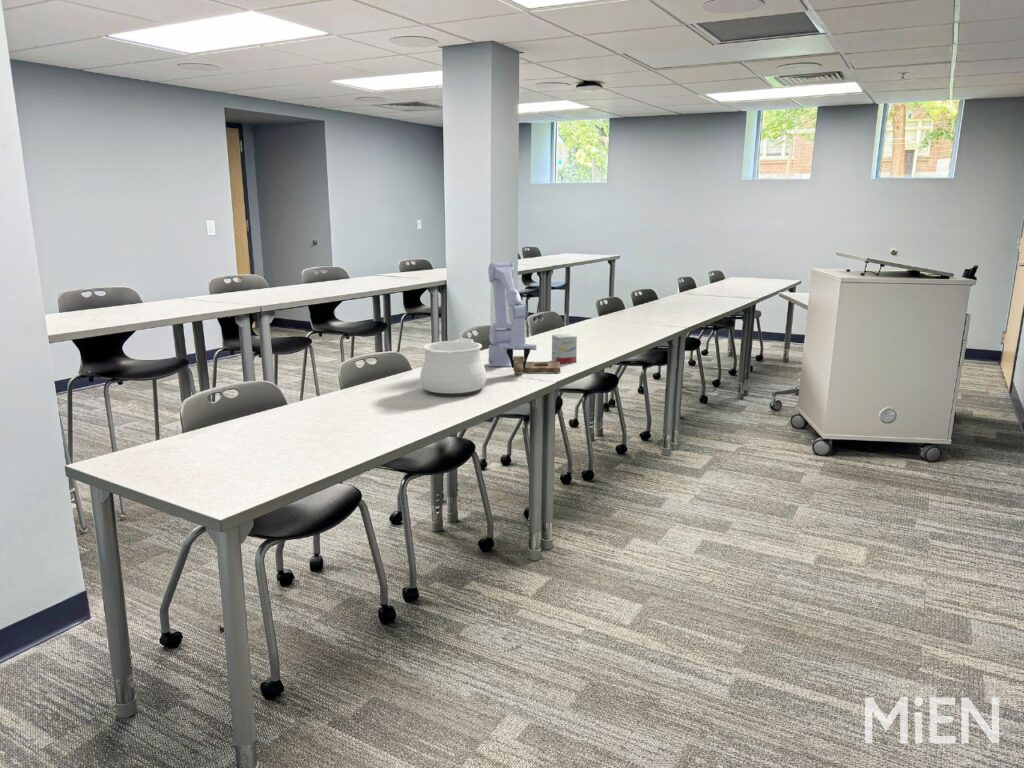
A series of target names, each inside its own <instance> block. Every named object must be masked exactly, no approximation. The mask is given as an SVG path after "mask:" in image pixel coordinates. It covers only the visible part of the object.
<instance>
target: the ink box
mask: <svg viewBox="0 0 1024 768" xmlns="http://www.w3.org/2000/svg"><path fill="white" fill-rule="evenodd" d="M577 341H578V339H577V336H575V335H572V334H569V333H566V334H565V333H564V334H563V333H562V334H559V333H558V334H552V335H551V361H552V360H553V361H552V362H554V361H555V362H560V365H563V364H562V363H565V364H573V363H572V362H575V363H577V347H578V346H577Z"/></svg>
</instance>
